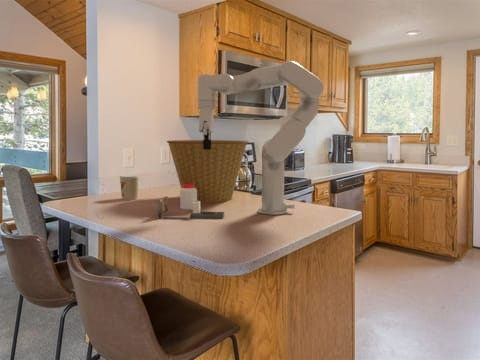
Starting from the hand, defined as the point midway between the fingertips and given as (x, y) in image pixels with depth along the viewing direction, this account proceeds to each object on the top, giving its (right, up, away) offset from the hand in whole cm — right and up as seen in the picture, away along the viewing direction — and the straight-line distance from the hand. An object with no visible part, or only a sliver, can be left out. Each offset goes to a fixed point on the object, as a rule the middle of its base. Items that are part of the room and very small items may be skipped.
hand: (207, 149), depth 162 cm
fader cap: (-4, -26, -6) cm, 27 cm away
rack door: (-18, -27, -4) cm, 32 cm away
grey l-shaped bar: (-13, -28, -10) cm, 33 cm away
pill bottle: (-9, -26, +13) cm, 30 cm away
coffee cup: (-43, -23, +36) cm, 61 cm away
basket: (-3, -23, +39) cm, 45 cm away
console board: (+1, -28, -6) cm, 29 cm away
